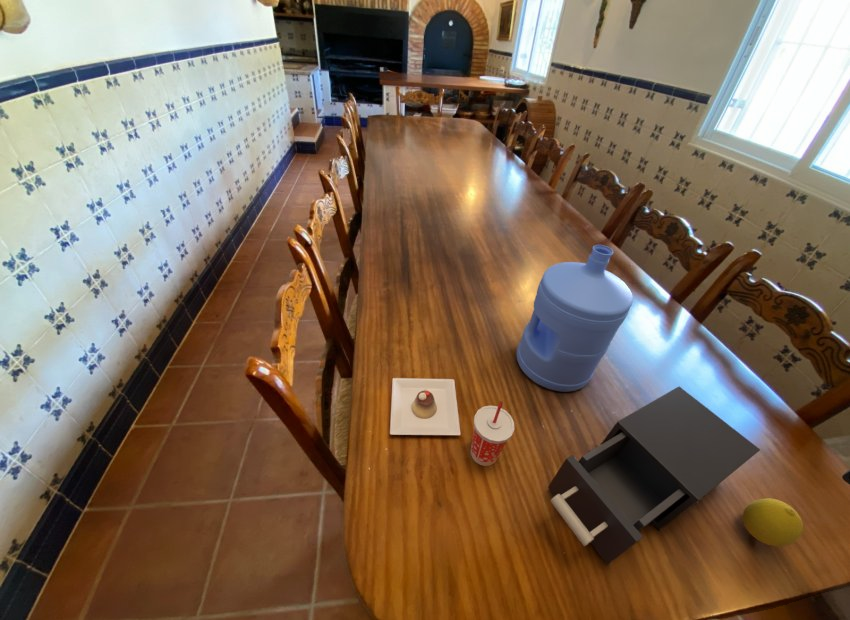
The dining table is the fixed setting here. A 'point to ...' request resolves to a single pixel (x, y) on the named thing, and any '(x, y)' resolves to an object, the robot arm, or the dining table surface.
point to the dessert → (424, 407)
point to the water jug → (573, 322)
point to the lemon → (772, 522)
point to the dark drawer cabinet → (685, 446)
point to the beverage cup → (490, 433)
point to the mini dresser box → (612, 495)
